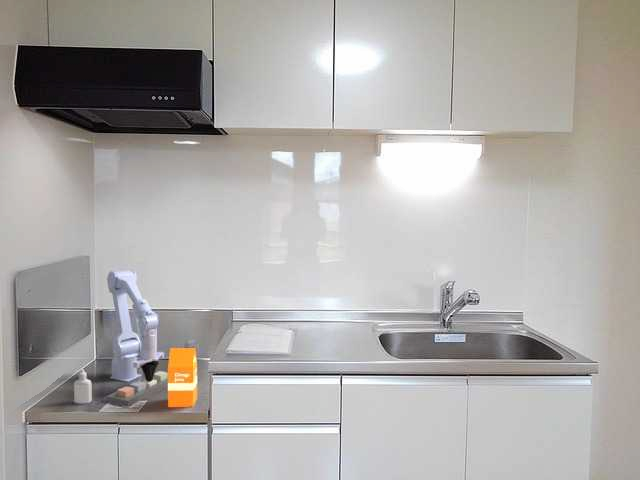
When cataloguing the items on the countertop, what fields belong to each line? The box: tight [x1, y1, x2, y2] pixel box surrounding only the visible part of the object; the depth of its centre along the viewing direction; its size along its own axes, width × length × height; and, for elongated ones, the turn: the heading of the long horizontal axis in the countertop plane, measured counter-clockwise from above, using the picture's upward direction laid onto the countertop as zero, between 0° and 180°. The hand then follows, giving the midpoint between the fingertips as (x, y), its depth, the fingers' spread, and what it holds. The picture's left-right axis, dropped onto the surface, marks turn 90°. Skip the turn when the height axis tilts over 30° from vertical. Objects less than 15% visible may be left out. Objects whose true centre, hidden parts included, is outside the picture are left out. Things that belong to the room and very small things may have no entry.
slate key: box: [129, 380, 146, 392], centre depth 180 cm, size 4×4×2 cm
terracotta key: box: [116, 385, 134, 398], centre depth 174 cm, size 4×4×2 cm
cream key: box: [143, 380, 157, 387], centre depth 185 cm, size 4×4×2 cm
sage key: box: [153, 370, 168, 381], centre depth 191 cm, size 4×4×2 cm
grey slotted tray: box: [106, 378, 168, 407], centre depth 182 cm, size 10×26×2 cm, turn 157°
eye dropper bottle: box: [73, 368, 93, 405], centre depth 171 cm, size 4×6×12 cm
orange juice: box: [167, 347, 198, 408], centre depth 172 cm, size 8×9×20 cm
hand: (149, 380), depth 185 cm, fingers closed
